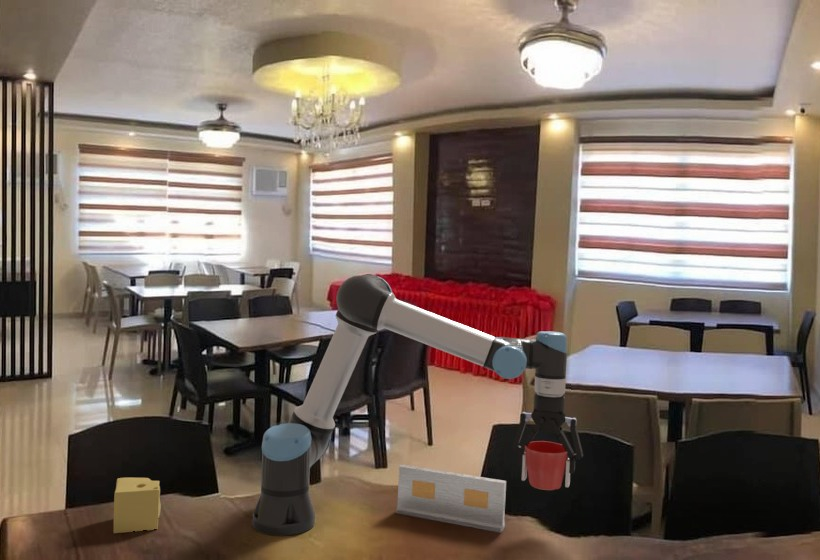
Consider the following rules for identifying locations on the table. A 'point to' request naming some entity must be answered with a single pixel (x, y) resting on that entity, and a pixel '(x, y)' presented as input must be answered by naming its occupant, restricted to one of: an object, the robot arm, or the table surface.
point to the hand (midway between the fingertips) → (545, 482)
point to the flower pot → (545, 464)
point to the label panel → (452, 497)
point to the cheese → (136, 505)
